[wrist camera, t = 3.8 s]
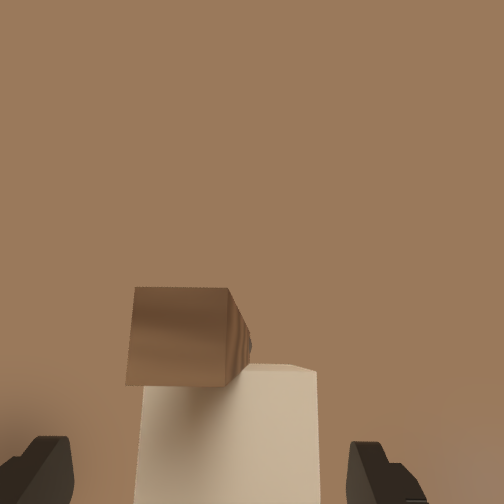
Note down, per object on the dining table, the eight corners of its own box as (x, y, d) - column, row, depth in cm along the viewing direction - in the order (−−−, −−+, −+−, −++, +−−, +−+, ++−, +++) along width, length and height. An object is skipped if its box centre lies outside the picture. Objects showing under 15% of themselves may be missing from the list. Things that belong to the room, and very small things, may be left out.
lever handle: (231, 387, 11) (234, 275, 12) (118, 385, 11) (130, 274, 12) (251, 363, 36) (252, 328, 37) (217, 362, 36) (218, 327, 37)
